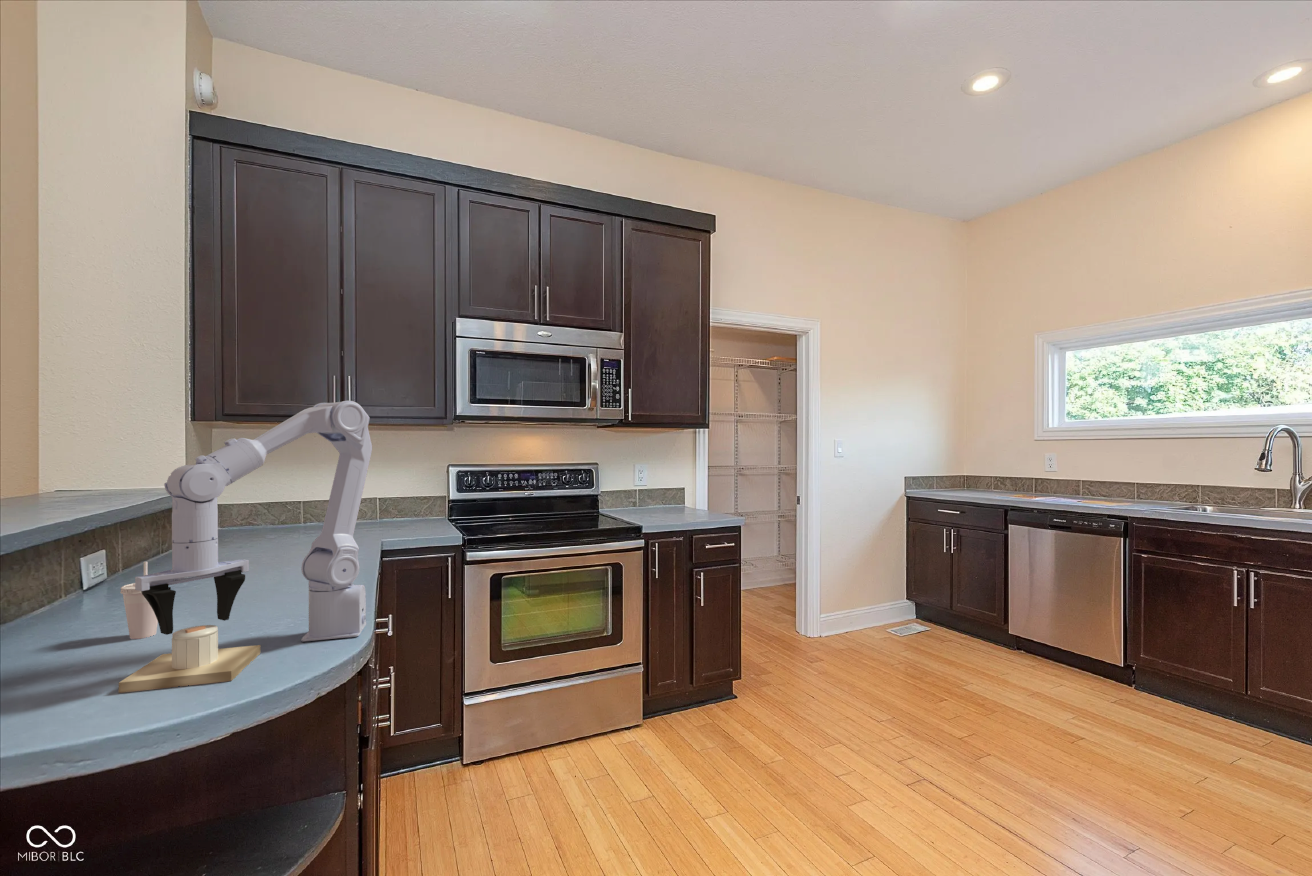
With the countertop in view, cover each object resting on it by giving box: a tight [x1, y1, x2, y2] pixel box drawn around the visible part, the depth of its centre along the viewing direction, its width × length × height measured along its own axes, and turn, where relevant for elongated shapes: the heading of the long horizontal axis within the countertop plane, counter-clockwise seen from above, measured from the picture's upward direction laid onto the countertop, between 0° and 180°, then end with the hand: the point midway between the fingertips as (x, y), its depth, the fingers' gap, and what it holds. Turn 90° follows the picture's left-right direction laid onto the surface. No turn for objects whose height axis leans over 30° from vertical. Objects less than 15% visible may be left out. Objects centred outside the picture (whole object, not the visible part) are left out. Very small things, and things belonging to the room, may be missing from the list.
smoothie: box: [119, 561, 159, 640], centre depth 109 cm, size 6×6×14 cm
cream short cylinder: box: [171, 624, 219, 669], centre depth 92 cm, size 6×6×5 cm
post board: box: [118, 644, 262, 694], centre depth 92 cm, size 14×12×5 cm
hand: (196, 626), depth 92 cm, fingers open, 7 cm apart
